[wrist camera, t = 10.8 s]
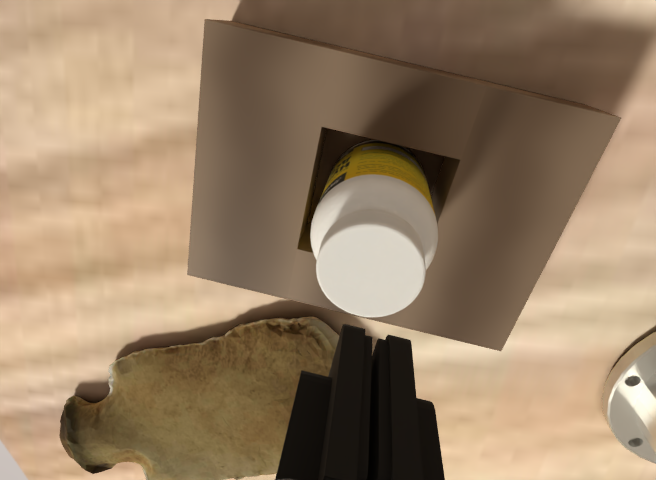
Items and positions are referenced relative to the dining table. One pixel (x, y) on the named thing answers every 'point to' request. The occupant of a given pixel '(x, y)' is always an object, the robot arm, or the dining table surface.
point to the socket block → (397, 128)
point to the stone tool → (201, 403)
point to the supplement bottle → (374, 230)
